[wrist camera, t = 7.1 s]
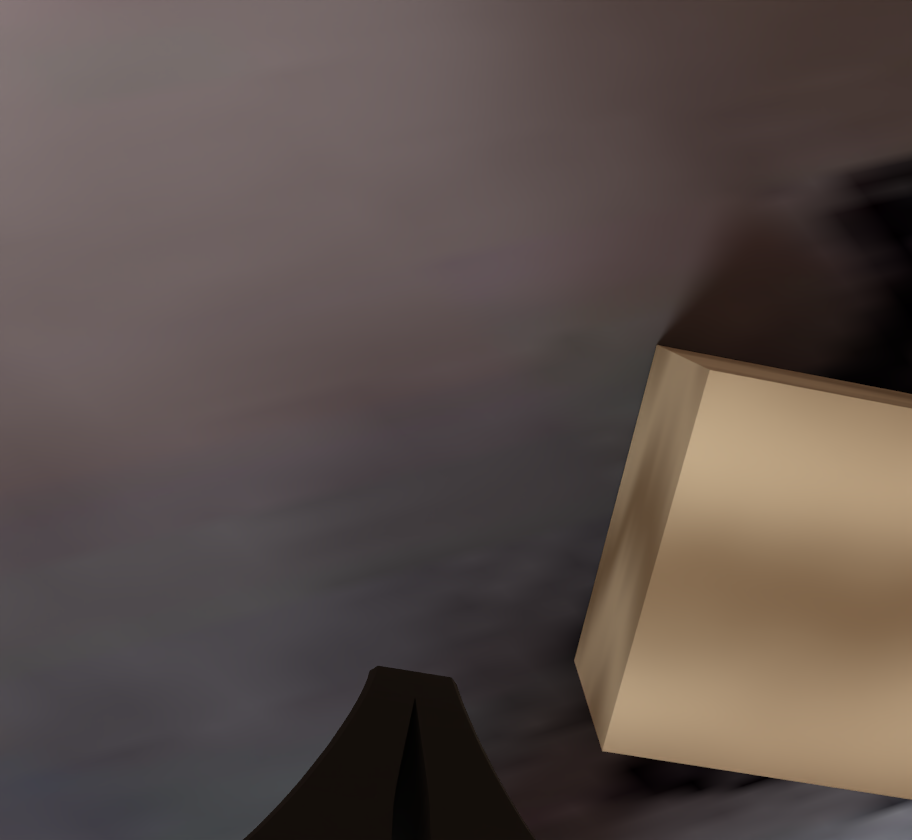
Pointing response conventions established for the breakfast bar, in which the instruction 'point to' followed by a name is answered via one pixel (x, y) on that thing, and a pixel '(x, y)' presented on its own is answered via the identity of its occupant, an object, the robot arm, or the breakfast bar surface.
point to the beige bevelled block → (759, 579)
